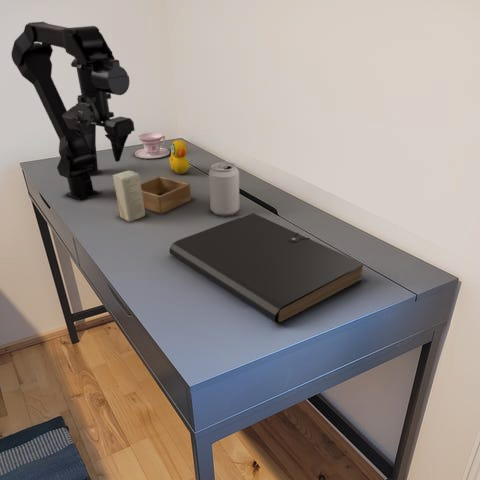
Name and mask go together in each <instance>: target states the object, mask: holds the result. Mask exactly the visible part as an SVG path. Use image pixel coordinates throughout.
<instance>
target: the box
mask: <svg viewBox="0 0 480 480" xmlns="http://www.w3.org/2000/svg"><path fill="white" fill-rule="evenodd" d="M112 178H113V179H112V180H113V184H114V188H115V194H116V200H117V206H118V212H119V217H120V218H121V219H123V220H125V221H126V222H132V221H136V220H138V219H141V218H143V217H145V216H146V210H145V208H144V203H143V197H142V190H141V184H140V183H141V177H140V173H137V172H135V171H132V170H130V169H128V170H125V171H121V172H119V173H115V174H112Z"/></svg>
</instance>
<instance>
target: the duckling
mask: <svg viewBox="0 0 480 480" xmlns="http://www.w3.org/2000/svg"><path fill="white" fill-rule="evenodd" d="M170 150H171V151H170V157H169V166H170V168H171V170H172V172H173V171H174V172H175V173H176V174H179V175H181V174H182V175H183V174H185V173H186V172H187V171H188V169H189V168H190V163H189V160H188V159H187V154H188V146H187V144H186V142H185V141H184V140H181V139H176V140H174V141H173V142H172V144H171V149H170Z"/></svg>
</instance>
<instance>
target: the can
mask: <svg viewBox="0 0 480 480" xmlns="http://www.w3.org/2000/svg"><path fill="white" fill-rule="evenodd" d="M210 167H211V169H210V170H209V171H208V182H209V183H208V184H209V206H210V211H211V212H213V213H214V214H215V215H217V216H223V217H227V216H232V215H234V214H236V213H237V212H238V211H239V210H240V171H239V169H237V165H236V163H233V162H229V161H220V162H215V163H213V164H211V166H210Z"/></svg>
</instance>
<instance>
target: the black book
mask: <svg viewBox="0 0 480 480" xmlns="http://www.w3.org/2000/svg"><path fill="white" fill-rule="evenodd" d="M169 254H170V255H171V256H173V257H175V258H176V259H177V260H179V261H180V262H182V263H183V264H184V265H186V266H188V267H190V268H191V269H193V270H195V272H197V273H199V274H201V275H202V276H204V277H205V278H206V279H208V280H210V281H211V282H213V283H214V284H216V285H217V286H219V287H221V288H222V289H224V290H225V291H227V292H228V293H230V294H231V295H233V296H234V297H236V298H237V299H239V300H240V301H242V302H244V303H245V304H247V305H248V306H249V307H251V308H253V309H254V310H255V311H257V312H259V313H260V314H262V315H264V316H265V317H267V319H269V320H271V321H273V323H276V324H282V323H284V322H287V321H289V320H290V319H293V318H294V317H296V316H298V315H299V314H301V313H303V312H305V311H307V310H309V309H311V308H312V307H314V306H316V305H318V304H320V303H322V302H324V301H325V300H327V299H329V298H331V297H333V296H334V295H337V294H339V293H340V292H342V291H344V290H347V289H348V288H350V287H352V286H354V285H355V284H358V283H359V282H361V281H362V280H363V279H362V275H363V271H364V266H365V264H364V263H363V262H361V261H358V260H357V259H355V258H352V257H350V256H348V255H346V254H344V253H341V252H339V251H337V250H334V249H332V248H330V247H328V246H326V245H324V244H321V243H319V242H317V241H316V240H313V239H311V238H310V237H306V236H304V235H302V234H300V233H299V232H295V231H293V230H291V229H289V228H287V227H285V226H282V225H280V224H279V223H276V222H274V221H272V220H270V219H267V218H265V217H263V216H261V215H259V214H257V213H254V212H253V213H249V214H247V215H244V216H242V217H237V218H234V219H231V220H229V221H226V222H224V223H223V222H222V223H221V224H218V225H216V226H213V227H210V228H207V229H205V230H202V231H199V232H196V233H194V234H191V235H189V236H186V237H182V238H181V239H178V240H175V241H174V242H173V243H172V244H171V245H170V246H169Z"/></svg>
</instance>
